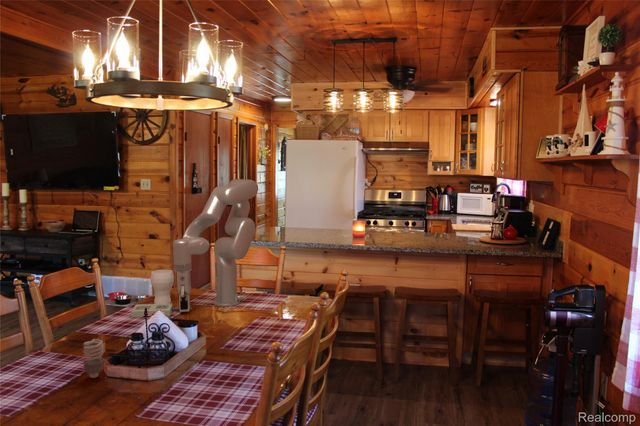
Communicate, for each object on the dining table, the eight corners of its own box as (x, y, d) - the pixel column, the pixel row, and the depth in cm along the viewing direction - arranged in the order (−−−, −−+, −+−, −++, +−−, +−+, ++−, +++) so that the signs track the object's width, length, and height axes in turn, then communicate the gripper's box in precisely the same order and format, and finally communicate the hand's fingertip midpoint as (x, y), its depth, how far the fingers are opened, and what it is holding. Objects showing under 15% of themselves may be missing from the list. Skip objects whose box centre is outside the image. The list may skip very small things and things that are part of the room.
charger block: (189, 308, 233) (189, 292, 232) (189, 311, 229) (188, 295, 228) (180, 309, 232) (179, 293, 231) (179, 311, 228) (179, 295, 227)
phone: (192, 309, 239) (192, 306, 239) (191, 311, 234) (191, 308, 234) (174, 309, 238) (174, 306, 238) (173, 312, 233) (173, 309, 233)
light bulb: (98, 373, 161) (97, 335, 160) (107, 377, 158) (106, 339, 157) (80, 378, 157) (79, 339, 156) (89, 383, 154) (88, 344, 153)
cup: (149, 301, 250) (149, 270, 249) (172, 299, 254) (171, 268, 253) (152, 306, 240) (152, 274, 239) (175, 304, 245) (175, 272, 244)
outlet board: (172, 308, 237) (172, 302, 236) (169, 316, 225) (169, 309, 225) (136, 309, 234) (136, 303, 234) (131, 317, 222) (131, 310, 222)
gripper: (190, 271, 221) (192, 312, 223) (193, 263, 237) (194, 302, 239) (172, 271, 219) (174, 314, 221) (176, 263, 236) (177, 303, 238)
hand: (184, 307), depth 230 cm, fingers closed on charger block, 4 cm apart
